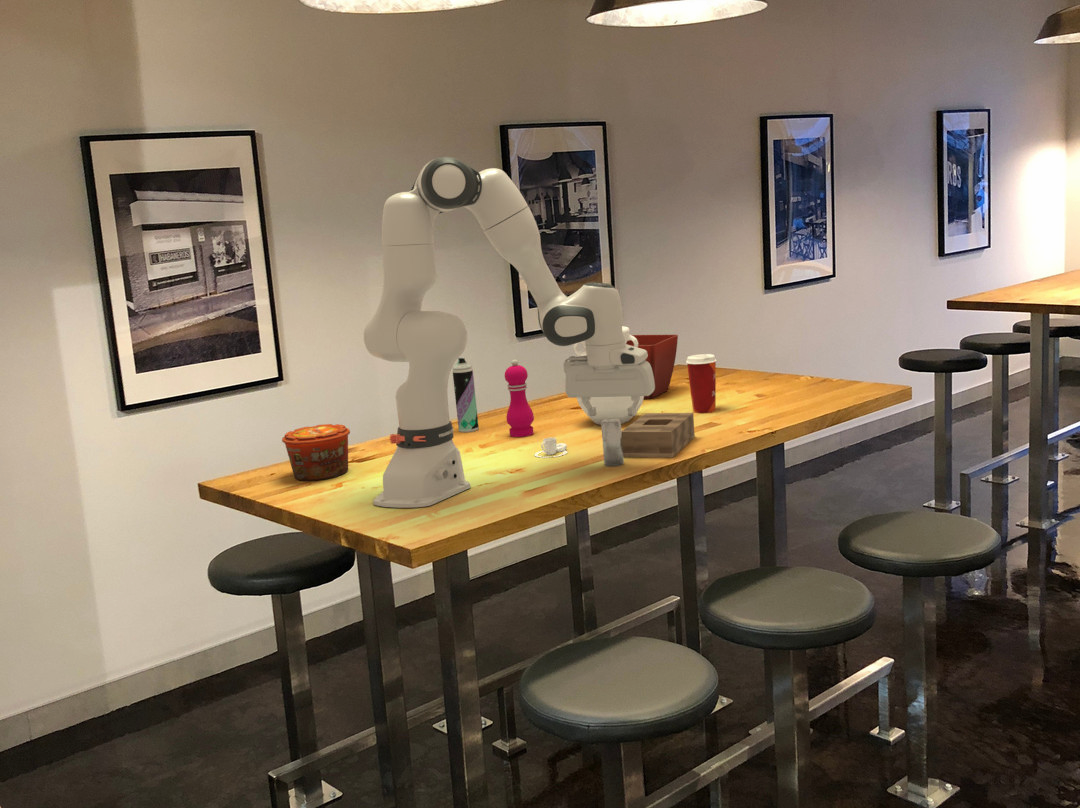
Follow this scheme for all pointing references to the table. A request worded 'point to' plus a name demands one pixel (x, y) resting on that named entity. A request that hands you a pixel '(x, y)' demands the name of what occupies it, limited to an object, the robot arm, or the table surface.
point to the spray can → (465, 396)
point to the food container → (318, 451)
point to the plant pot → (659, 358)
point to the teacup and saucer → (552, 447)
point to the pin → (612, 442)
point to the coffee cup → (702, 382)
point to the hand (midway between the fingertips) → (612, 415)
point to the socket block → (658, 435)
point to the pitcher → (610, 405)
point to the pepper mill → (518, 402)
